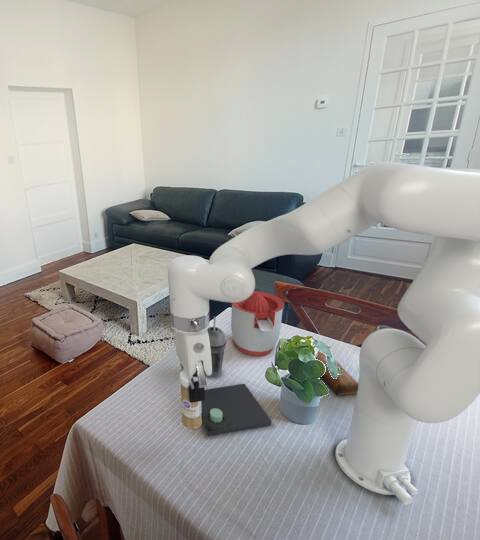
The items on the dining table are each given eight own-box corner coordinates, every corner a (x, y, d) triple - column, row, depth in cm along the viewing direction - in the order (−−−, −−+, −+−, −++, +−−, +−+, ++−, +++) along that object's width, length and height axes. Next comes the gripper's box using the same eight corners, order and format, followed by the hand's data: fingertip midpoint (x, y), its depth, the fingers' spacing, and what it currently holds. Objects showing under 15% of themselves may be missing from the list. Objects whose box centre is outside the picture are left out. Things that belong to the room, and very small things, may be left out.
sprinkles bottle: (179, 427, 75) (176, 378, 70) (184, 412, 79) (182, 365, 74) (200, 432, 73) (198, 383, 68) (204, 417, 77) (203, 369, 72)
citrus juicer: (238, 365, 105) (241, 308, 97) (224, 335, 121) (225, 284, 114) (289, 363, 104) (296, 305, 96) (268, 332, 120) (273, 281, 113)
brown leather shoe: (367, 391, 89) (358, 374, 87) (342, 404, 91) (333, 388, 89) (324, 352, 106) (316, 337, 104) (304, 363, 107) (296, 349, 105)
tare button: (224, 421, 81) (224, 416, 81) (212, 423, 81) (212, 418, 80) (219, 412, 84) (219, 407, 83) (207, 414, 84) (207, 409, 83)
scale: (271, 427, 82) (272, 417, 81) (208, 438, 80) (208, 428, 79) (244, 387, 95) (244, 378, 94) (189, 396, 94) (189, 387, 93)
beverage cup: (223, 365, 105) (224, 308, 98) (227, 380, 98) (230, 321, 91) (199, 365, 106) (199, 309, 99) (202, 380, 99) (202, 321, 92)
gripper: (225, 337, 59) (225, 418, 65) (194, 297, 75) (196, 365, 81) (184, 344, 58) (188, 425, 65) (161, 302, 74) (165, 371, 80)
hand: (192, 391), depth 73 cm, fingers closed on sprinkles bottle, 4 cm apart
